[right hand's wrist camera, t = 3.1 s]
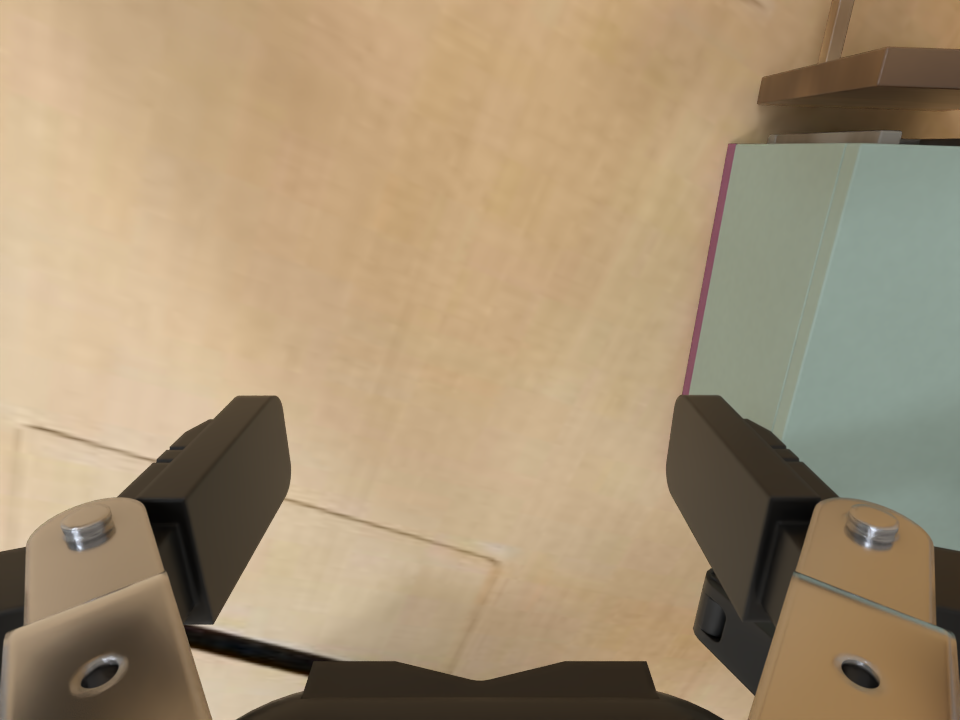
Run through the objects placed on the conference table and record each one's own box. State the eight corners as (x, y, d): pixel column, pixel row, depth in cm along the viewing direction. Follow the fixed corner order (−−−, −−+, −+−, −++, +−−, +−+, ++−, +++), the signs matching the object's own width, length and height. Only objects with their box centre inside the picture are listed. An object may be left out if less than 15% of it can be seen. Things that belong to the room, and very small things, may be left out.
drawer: (790, -70, 24) (947, -179, 16) (996, -62, 24) (1255, -166, 16) (693, 421, 33) (763, 510, 25) (844, 425, 33) (962, 515, 25)
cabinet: (728, 143, 28) (861, 142, 18) (928, 150, 28) (1165, 152, 18) (668, 471, 35) (740, 595, 25) (827, 475, 35) (959, 600, 26)
